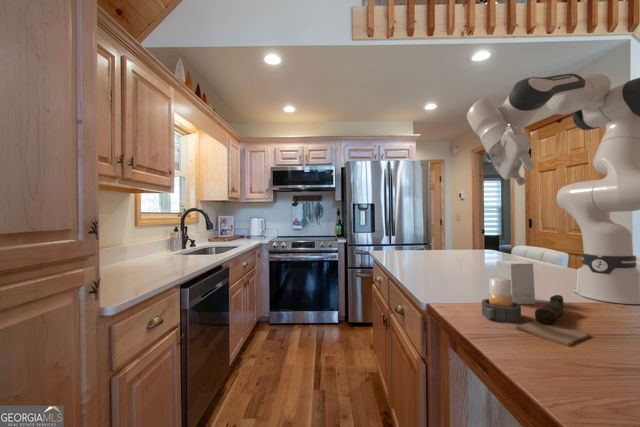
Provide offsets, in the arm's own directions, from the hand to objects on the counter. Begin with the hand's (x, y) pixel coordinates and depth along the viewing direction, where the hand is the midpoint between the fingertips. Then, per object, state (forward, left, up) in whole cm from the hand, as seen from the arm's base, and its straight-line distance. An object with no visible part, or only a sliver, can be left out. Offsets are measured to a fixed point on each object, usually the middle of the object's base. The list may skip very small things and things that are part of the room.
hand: (526, 177), depth 78 cm
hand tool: (+1, +5, -39) cm, 39 cm away
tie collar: (+11, -3, -39) cm, 40 cm away
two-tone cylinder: (+11, -3, -39) cm, 40 cm away
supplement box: (-7, -9, -39) cm, 41 cm away
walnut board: (+12, +9, -39) cm, 41 cm away
